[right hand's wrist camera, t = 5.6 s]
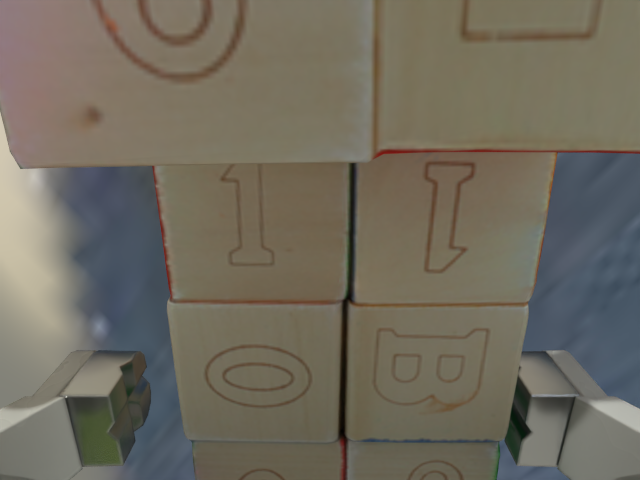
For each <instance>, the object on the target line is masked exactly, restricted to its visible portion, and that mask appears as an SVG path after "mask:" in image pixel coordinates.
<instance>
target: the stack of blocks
mask: <svg viewBox="0 0 640 480" xmlns="http://www.w3.org/2000/svg"><path fill="white" fill-rule="evenodd" d="M0 112H1V116H2V120H3V124H4V128H5V132H6V136H7V141H8V145H9V149H10V152H11V154H12V156H13V157H14V159H15V161H16V162H17V164H18V165H19V167H20V169H29V168H60V167H113V166H153V174H154V181H155V189H156V196H157V203H158V210H159V217H160V225H161V232H162V239H163V247H164V255H165V262H166V270H167V277H168V284H169V290H170V294H171V296H170V298H169V300H168V302H167V313H168V320H169V328H170V335H171V343H172V350H173V357H174V365H175V372H176V379H177V386H178V393H179V400H180V407H181V414H182V421H183V428H184V434H185V436H186V438H188V439H189V440H190V441H192V450H193V464H194V472H195V480H496V479H497V473H498V464H499V458H500V448H499V441H502V440H503V439H504V438H505V437H506V434H507V431H508V427H509V420H510V413H511V408H512V403H513V398H514V393H515V388H516V383H517V376H518V370H519V364H520V358H521V352H522V346H523V341H524V337H525V332H526V327H527V321H528V314H529V310H528V301H529V300H530V298H531V296H532V294H533V291H534V287H535V284H536V281H537V271H538V267H539V262H540V256H541V251H542V245H543V239H544V234H545V227H546V220H547V213H548V207H549V201H550V194H551V188H552V182H553V176H554V170H555V164H556V159H557V152H599V153H639V154H640V0H0Z"/></svg>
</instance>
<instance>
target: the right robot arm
mask: <svg viewBox="0 0 640 480" xmlns="http://www.w3.org/2000/svg"><path fill="white" fill-rule="evenodd" d="M146 368H147V365H146V361H145V356H144V354H143V353H142V352H141V351H102V350H99V351H96V350H77V351H74V352H71V353H70V354H69V355H68V356H67V358H66V359H65V360H64V361H63V362H62V363H61V364H60V365H59V367H58V368H57V369H56V370H55V371H54V372H53V373H52V374H51V376H50V377H49V378H48V379H47V380H46V381H45V382H44V384H43V385H42V386H41V387H40V388H39V389H38V390H37V391H36V393H35V394H34V395H33V396H32V397H23V398H21V399H19V400H17V401H15V402H13V403H11V404H9V405H7V406H5V407H3V408H1V409H0V480H70V479H71V478H72V477H74V476H75V475H76V474H77V473H78V472H80V471H81V470H82V467H93V466H123V465H124V463H125V461H126V459H127V457H128V455H129V453H130V451H131V449H132V447H133V445H134V443H135V435H134V432H135V431H136V430H137V429H139V428H140V427H142V426H143V425H144V423H145V420H146V418H147V416H148V413H149V408H150V403H151V390H150V383H149V382H148V381H147V380H146V379H145V378H144V377H143V376H142V375H143V373H144V371H145V369H146ZM505 443H506V445H507V447H508V449H509V451H510V453H511V455H512V457H513V459H514V461H515V463H516V465H517V466H546V467H558V468H557V469H558V470H560V471H561V472H562V473H563V474H564V475H565V476H567V477H568V478H569V479H570V480H640V409H639V408H637V407H635V406H633V405H631V404H629V403H627V402H625V401H623V400H621V399H619V398H617V397H608V396H607V395H606V394H605V393H604V391H603V390H602V389H601V388H600V387H599V386H598V385H597V384H596V382H595V381H594V380H593V379H592V378H591V377H590V376H589V375H588V373H587V372H586V371H585V370H584V369H583V368H582V367H581V365H580V364H579V363H578V362H577V361H576V360H575V359H574V358H573V356H572V355H571V354H570V353H569V352H567V351H565V350H550V351H524V352H521V358H520V364H519V370H518V376H517V383H516V388H515V393H514V398H513V403H512V408H511V413H510V420H509V427H508V431H507V434H506V437H505Z"/></svg>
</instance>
